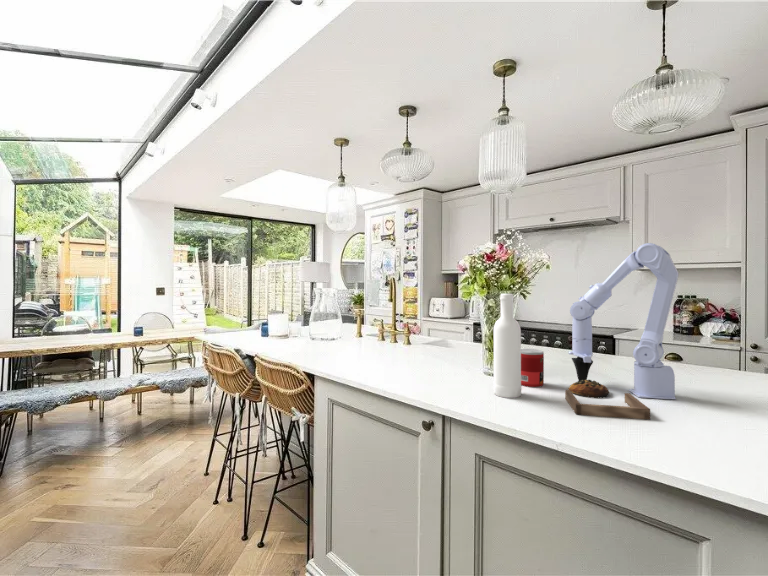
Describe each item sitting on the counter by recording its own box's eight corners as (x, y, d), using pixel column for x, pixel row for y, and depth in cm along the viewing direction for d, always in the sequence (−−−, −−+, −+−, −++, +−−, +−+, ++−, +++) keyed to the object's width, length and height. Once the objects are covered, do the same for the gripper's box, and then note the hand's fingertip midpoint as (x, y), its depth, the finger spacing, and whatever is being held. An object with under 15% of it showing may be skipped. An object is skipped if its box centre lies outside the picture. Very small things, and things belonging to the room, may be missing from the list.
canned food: (546, 387, 126) (545, 353, 125) (519, 386, 127) (519, 352, 127) (541, 381, 133) (541, 349, 133) (516, 380, 135) (516, 348, 134)
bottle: (496, 398, 115) (496, 294, 114) (490, 390, 123) (490, 293, 122) (525, 398, 114) (524, 294, 114) (517, 390, 122) (516, 293, 122)
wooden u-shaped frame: (629, 402, 110) (629, 393, 110) (650, 419, 96) (650, 409, 96) (565, 398, 114) (565, 389, 114) (576, 414, 100) (576, 404, 100)
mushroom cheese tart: (598, 400, 112) (596, 382, 112) (561, 397, 121) (559, 380, 121) (617, 395, 118) (615, 378, 119) (581, 392, 127) (579, 376, 128)
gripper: (564, 335, 136) (564, 375, 136) (573, 341, 122) (573, 385, 122) (586, 335, 134) (587, 376, 135) (598, 342, 120) (598, 386, 121)
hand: (582, 380), depth 128 cm, fingers closed
